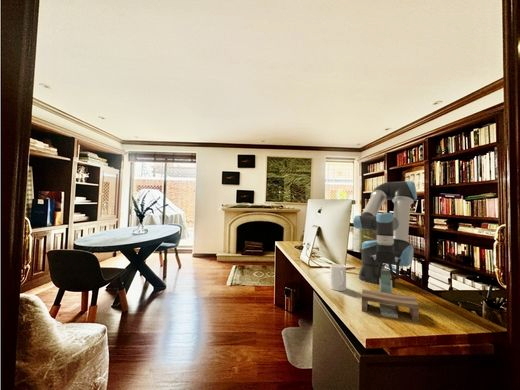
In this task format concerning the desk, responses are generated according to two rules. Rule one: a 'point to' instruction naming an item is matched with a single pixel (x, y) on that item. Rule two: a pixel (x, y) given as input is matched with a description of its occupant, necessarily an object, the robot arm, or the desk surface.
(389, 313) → the tile
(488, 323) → the desk surface
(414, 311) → the riser
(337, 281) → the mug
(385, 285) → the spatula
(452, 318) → the desk surface
